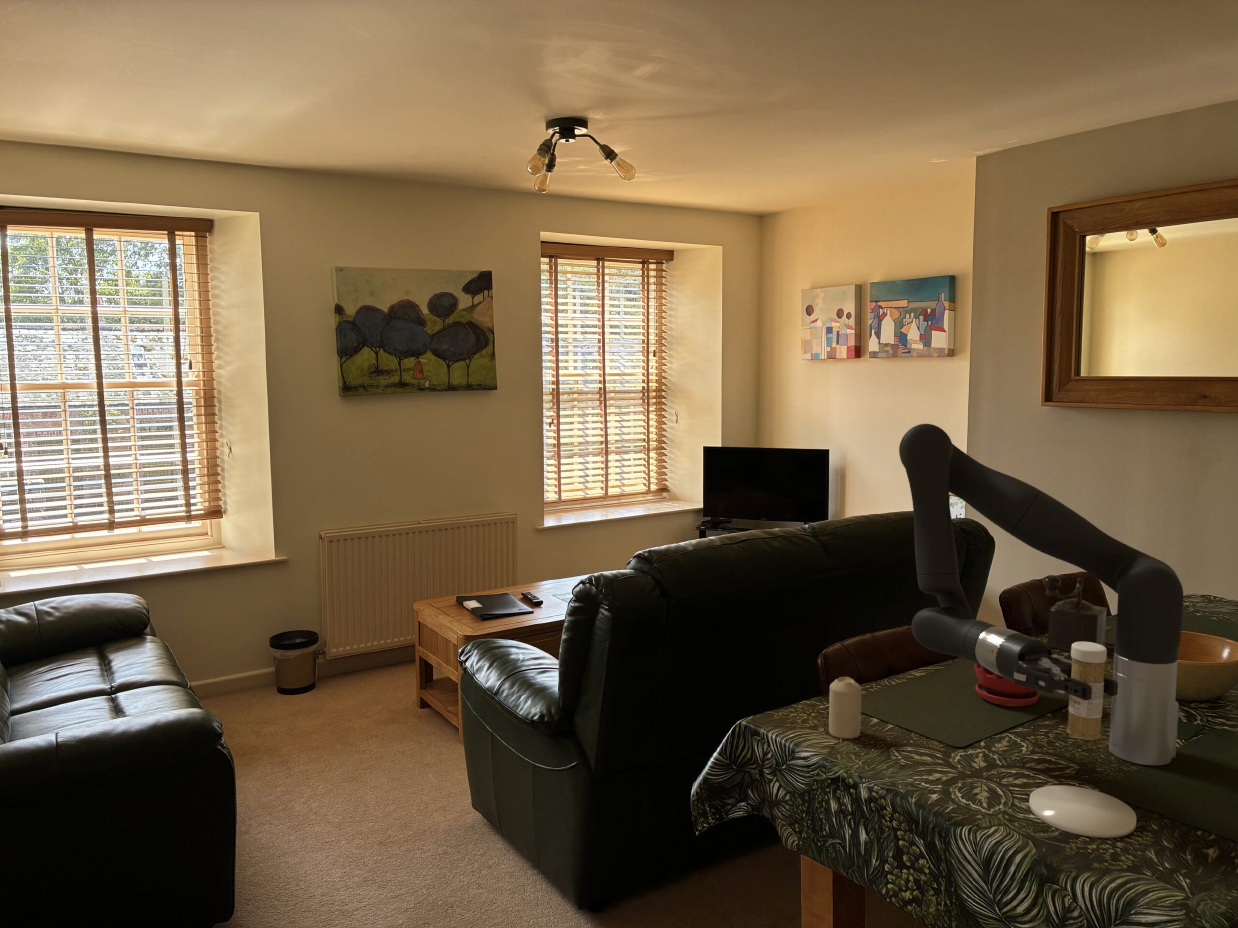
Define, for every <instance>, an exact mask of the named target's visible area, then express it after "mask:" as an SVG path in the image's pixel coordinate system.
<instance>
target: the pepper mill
mask: <svg viewBox="0 0 1238 928" xmlns="http://www.w3.org/2000/svg"><path fill="white" fill-rule="evenodd" d="M1076 579H1077V580H1076V581H1077V583H1076V586H1075V587H1076V588H1075V589H1074V590H1073V592H1071V593H1069V594H1060V592H1059V591H1058V588H1059V587H1060V586H1061V583H1062V581H1061V578H1060V577H1059V576H1057V575H1054V574H1048V575H1046V576H1044V577H1043V578H1042V583H1043V586H1044V587H1045V589H1046V591H1045V595H1046V596H1048V597H1052V598H1053V597H1054V598H1058V599H1062V600H1061V601H1057V602H1056V603H1055V604H1054V605H1053V606H1051V607H1050V608H1049V609H1048V625H1047V626H1048V627H1047V643H1046V644H1047V645H1048V647H1049V648H1051V649H1054V650H1058V651H1062V652H1063V651H1064V652H1069V653H1071V647H1072V644H1073V643H1075V642H1092V643H1097V644H1100V645H1102V646H1104V647H1105V646H1106V630H1107V629H1106V626H1107V611H1108V608H1107V607H1103V606H1098V605H1093V604H1092V603H1090V602H1089V601H1086V600H1083V599H1082V589H1083V588H1084V583H1083V582H1084V579H1083V578H1082V577H1078V578H1076ZM1074 597H1075V598H1074Z"/></svg>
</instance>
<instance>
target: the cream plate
mask: <svg viewBox="0 0 1238 928" xmlns="http://www.w3.org/2000/svg"><path fill="white" fill-rule="evenodd" d="M1028 803H1029V809H1030V811H1031V812H1032V813H1033V815H1034V816H1036V817H1037V818H1038V819H1040V821H1042V822H1044V823H1046V824H1048V825H1049V826H1051V827H1054V828H1057V829H1058V830H1061V831H1065V832H1067V833H1070V834H1074V835H1079V836H1084V837H1088V838H1089V837H1090V838H1091V837H1092V838H1102V839H1111V838H1119V837H1124V836H1128V835H1129V834H1131V833H1133V832H1134V831H1135V830H1136V827H1137V815H1136V812H1135V811H1134V810H1133V809H1132V808H1131V807H1130V806H1129V805H1128V804H1127V803H1125V802H1124V801H1122V800H1120V799H1118V798H1116V797H1114V796H1112V795H1109V794H1106V793H1104V792H1101V791H1097V790H1094V789H1090V788H1086V787H1081V786H1074V785H1061V784H1060V785H1047V786H1042V787H1039V788H1036V789H1035V790H1033V791H1032V792H1031V793H1030V795H1029V802H1028Z"/></svg>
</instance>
